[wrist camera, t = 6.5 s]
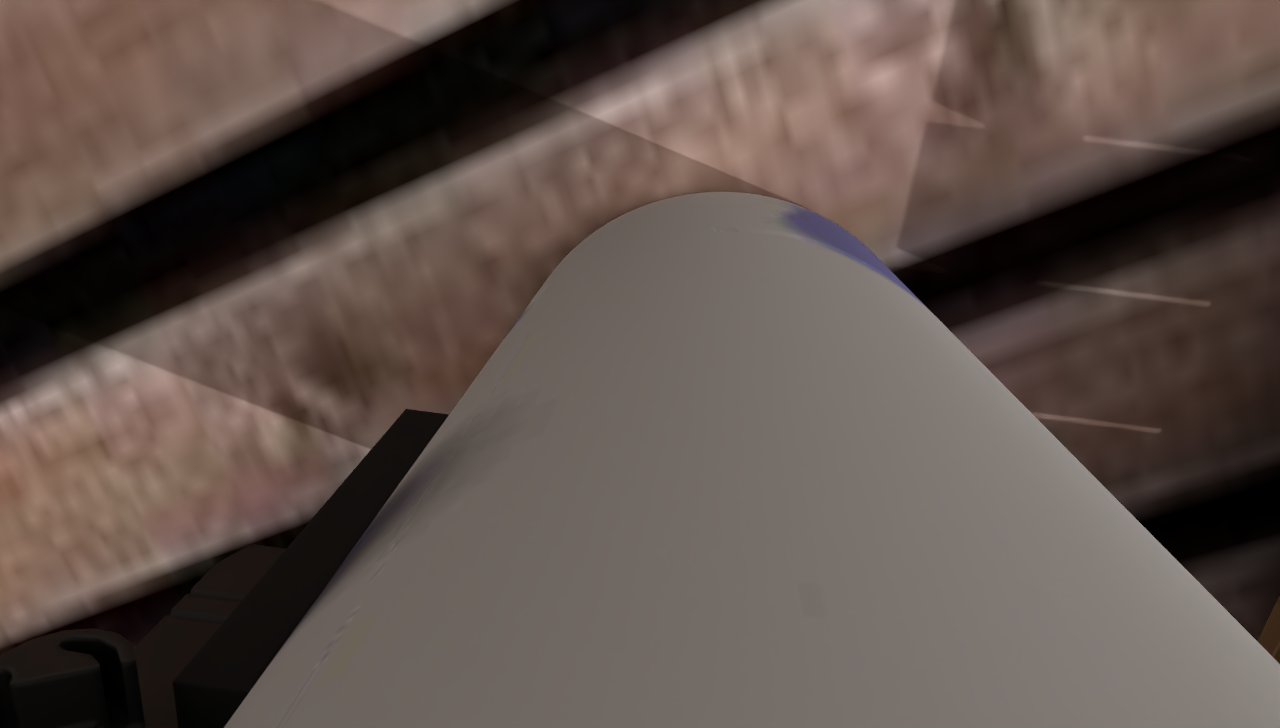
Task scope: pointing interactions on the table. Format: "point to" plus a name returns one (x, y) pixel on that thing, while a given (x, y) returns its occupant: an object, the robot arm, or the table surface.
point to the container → (752, 523)
